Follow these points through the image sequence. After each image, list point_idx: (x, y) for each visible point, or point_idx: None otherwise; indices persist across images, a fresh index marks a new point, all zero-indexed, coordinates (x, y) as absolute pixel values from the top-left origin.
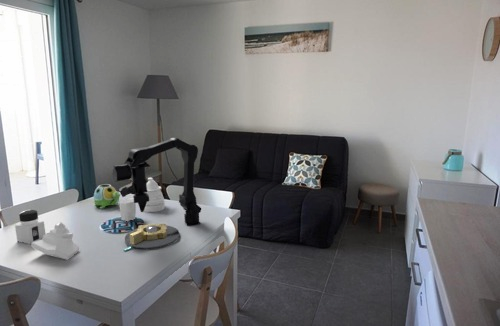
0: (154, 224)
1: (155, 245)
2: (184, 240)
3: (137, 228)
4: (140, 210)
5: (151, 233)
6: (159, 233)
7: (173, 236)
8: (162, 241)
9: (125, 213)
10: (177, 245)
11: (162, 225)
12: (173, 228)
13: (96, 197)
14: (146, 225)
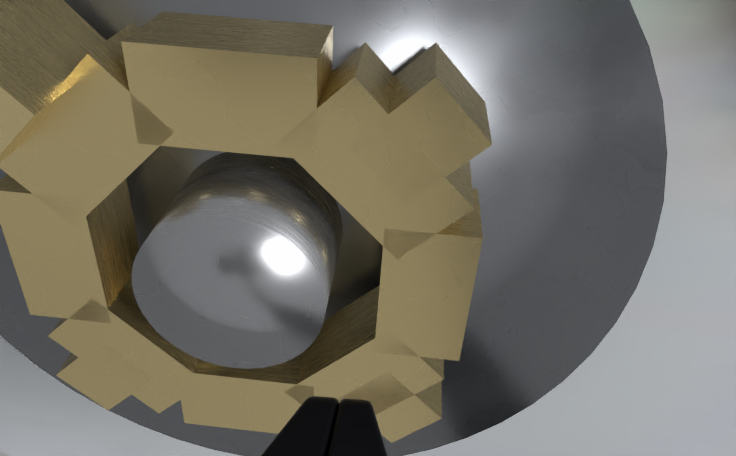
0: (427, 332)
1: None
2: (133, 438)
3: (640, 33)
4: (277, 436)
5: (51, 251)
6: (50, 336)
7: None
8: (21, 296)
9: None
10: (23, 375)
11: None
12: (389, 442)
13: None
14: (435, 224)
